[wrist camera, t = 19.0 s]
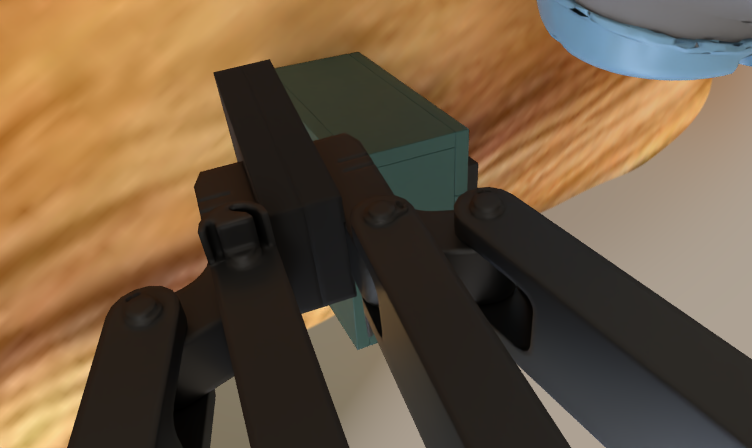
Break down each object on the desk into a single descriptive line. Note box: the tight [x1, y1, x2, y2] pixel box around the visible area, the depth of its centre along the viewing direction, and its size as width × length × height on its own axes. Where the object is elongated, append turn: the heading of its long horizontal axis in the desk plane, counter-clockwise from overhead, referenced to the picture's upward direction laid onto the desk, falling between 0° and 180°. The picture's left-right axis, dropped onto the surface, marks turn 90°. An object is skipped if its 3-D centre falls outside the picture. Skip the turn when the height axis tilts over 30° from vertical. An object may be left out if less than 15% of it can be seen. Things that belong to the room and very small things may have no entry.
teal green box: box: [274, 52, 469, 350], centre depth 41 cm, size 7×12×14 cm, turn 4°
